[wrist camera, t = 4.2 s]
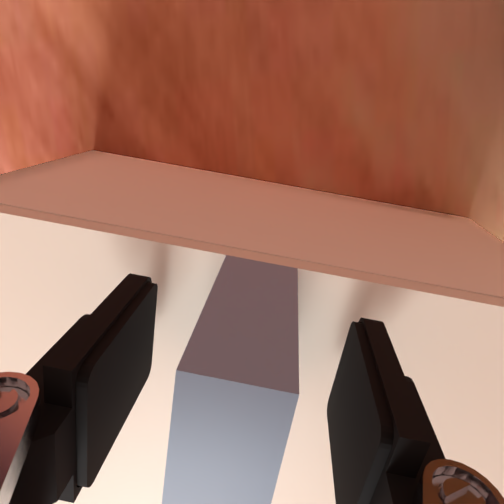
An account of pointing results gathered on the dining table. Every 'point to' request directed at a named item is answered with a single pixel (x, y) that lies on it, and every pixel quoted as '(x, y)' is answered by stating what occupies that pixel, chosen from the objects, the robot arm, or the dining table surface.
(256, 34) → the dining table surface
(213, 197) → the mailer box
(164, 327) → the flap
